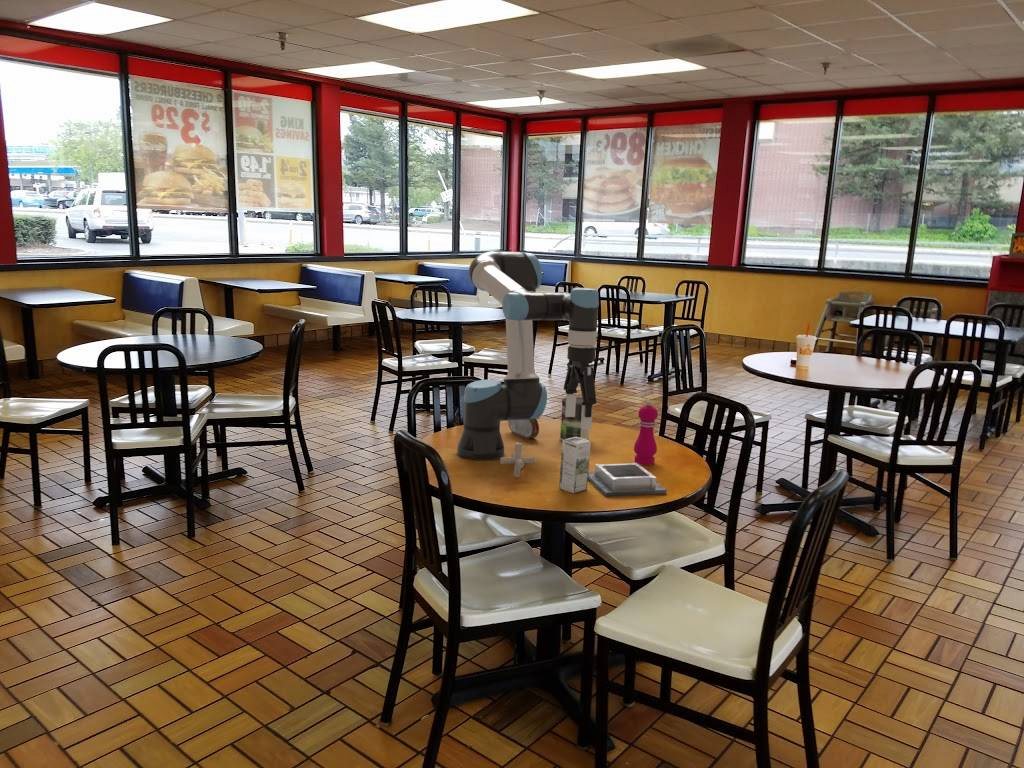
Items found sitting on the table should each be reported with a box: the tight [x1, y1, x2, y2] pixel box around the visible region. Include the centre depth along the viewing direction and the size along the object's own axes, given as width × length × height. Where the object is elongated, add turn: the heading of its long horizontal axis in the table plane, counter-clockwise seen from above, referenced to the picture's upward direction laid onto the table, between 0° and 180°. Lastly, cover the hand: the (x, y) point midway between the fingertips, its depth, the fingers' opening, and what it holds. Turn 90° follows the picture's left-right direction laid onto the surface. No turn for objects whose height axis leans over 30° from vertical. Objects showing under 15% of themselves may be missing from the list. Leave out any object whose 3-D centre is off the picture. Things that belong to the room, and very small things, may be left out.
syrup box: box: [558, 437, 592, 494], centre depth 210 cm, size 6×6×14 cm
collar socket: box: [588, 462, 668, 498], centre depth 216 cm, size 18×18×4 cm
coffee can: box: [559, 396, 590, 441], centre depth 261 cm, size 10×10×14 cm
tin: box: [508, 418, 540, 440], centre depth 264 cm, size 15×3×8 cm, turn 37°
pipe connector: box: [499, 442, 536, 478], centre depth 219 cm, size 10×10×10 cm
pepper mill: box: [633, 400, 659, 466], centre depth 237 cm, size 7×7×20 cm
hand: (577, 422), depth 207 cm, fingers open, 13 cm apart
